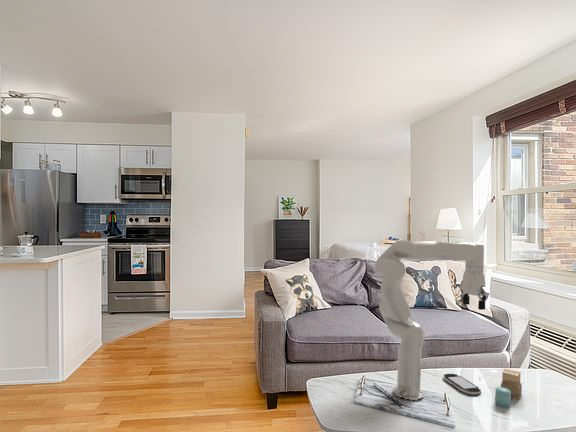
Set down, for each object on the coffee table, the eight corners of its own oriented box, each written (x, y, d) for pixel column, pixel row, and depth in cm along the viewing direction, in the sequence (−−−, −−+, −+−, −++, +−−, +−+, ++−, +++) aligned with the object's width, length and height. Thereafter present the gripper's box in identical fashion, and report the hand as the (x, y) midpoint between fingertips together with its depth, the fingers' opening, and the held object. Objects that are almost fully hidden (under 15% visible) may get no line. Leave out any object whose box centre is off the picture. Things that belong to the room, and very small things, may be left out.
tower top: (518, 387, 161) (518, 376, 161) (502, 383, 165) (502, 372, 165) (520, 383, 166) (520, 371, 166) (504, 379, 169) (505, 368, 169)
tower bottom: (518, 400, 160) (519, 388, 160) (500, 395, 165) (500, 383, 165) (521, 394, 166) (521, 383, 166) (503, 389, 170) (503, 378, 170)
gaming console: (439, 378, 181) (440, 373, 181) (456, 377, 183) (456, 372, 183) (466, 397, 162) (466, 391, 162) (484, 395, 164) (484, 390, 164)
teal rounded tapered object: (509, 409, 152) (509, 394, 152) (493, 404, 155) (494, 390, 155) (511, 404, 156) (511, 390, 156) (496, 400, 160) (496, 385, 160)
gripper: (454, 267, 179) (453, 302, 179) (481, 272, 162) (481, 311, 162) (467, 266, 181) (467, 302, 181) (496, 272, 164) (495, 311, 164)
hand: (473, 306), depth 172 cm, fingers open, 9 cm apart
